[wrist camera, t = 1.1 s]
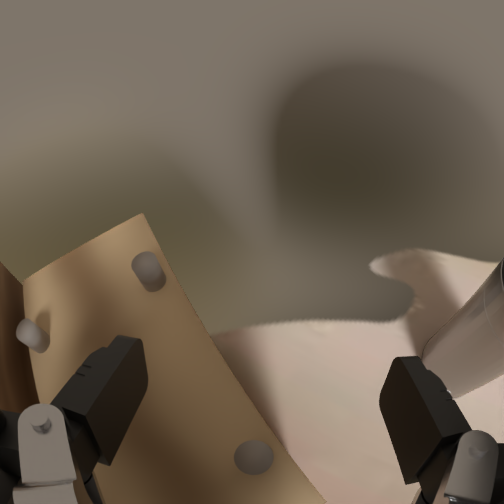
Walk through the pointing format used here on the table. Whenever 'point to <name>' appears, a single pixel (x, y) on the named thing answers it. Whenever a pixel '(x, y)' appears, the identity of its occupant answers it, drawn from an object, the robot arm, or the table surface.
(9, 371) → the walnut post
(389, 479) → the table surface
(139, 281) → the oak block
